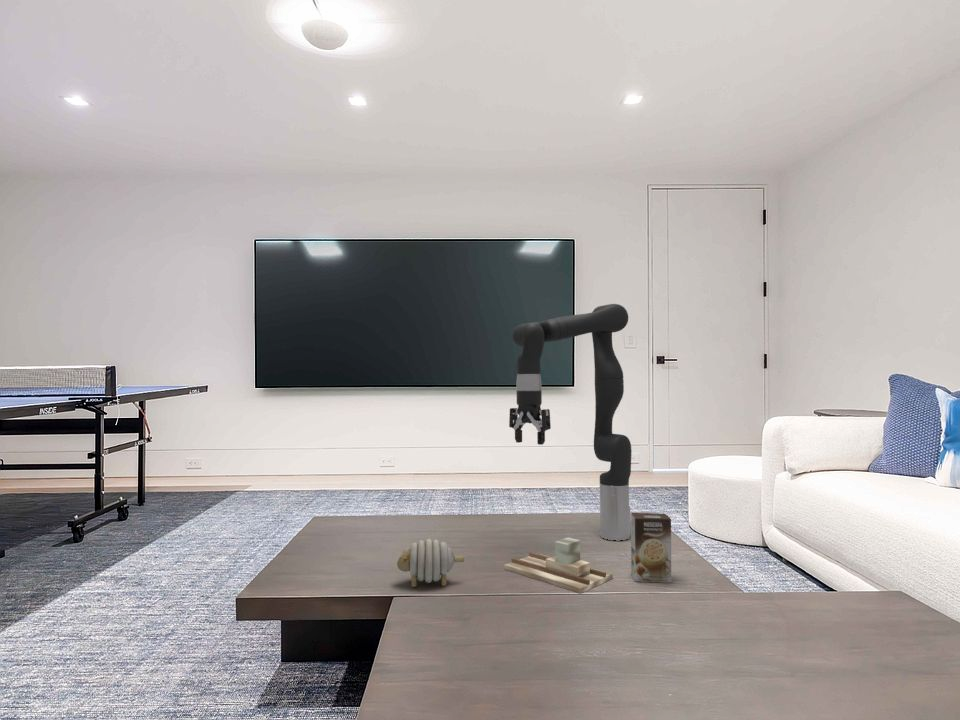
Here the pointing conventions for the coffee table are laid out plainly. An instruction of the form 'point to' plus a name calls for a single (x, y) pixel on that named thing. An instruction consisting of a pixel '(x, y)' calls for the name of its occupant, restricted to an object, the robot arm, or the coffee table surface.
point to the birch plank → (556, 573)
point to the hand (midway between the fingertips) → (529, 443)
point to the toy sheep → (428, 561)
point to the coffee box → (651, 547)
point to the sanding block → (568, 558)
